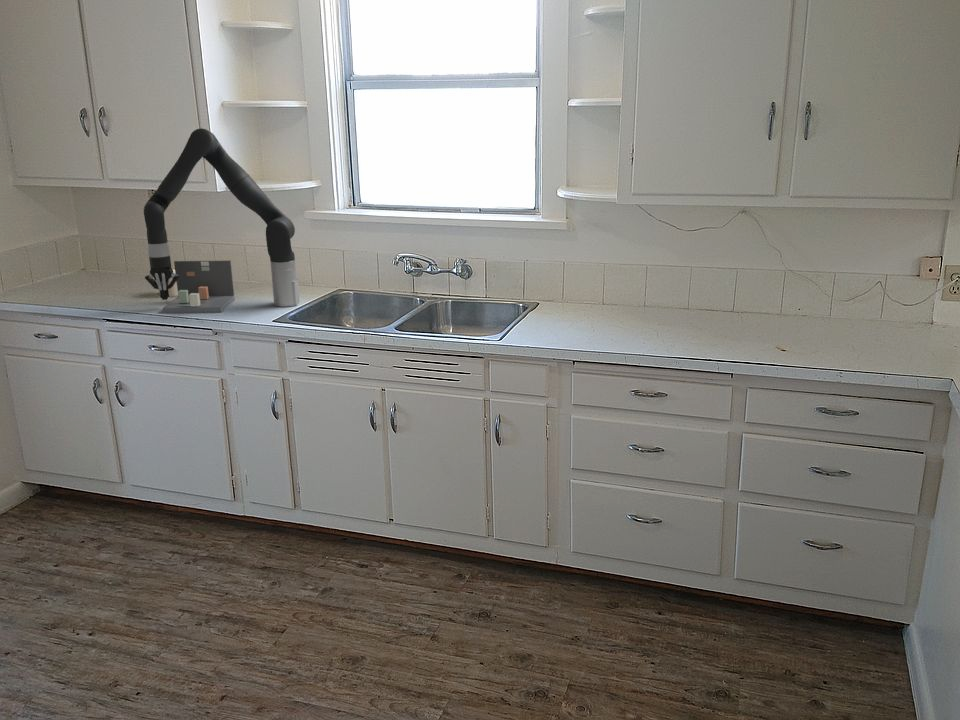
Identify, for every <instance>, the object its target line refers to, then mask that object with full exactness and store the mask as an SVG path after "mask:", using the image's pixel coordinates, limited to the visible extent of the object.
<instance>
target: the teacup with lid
mask: <svg viewBox="0 0 960 720" xmlns="http://www.w3.org/2000/svg"><path fill="white" fill-rule="evenodd" d="M172 270H173V273H175V268H174V269H173V268H172ZM175 274H176V273H175ZM153 279H154V278H153ZM154 280H155V279H154ZM155 281H156V280H155ZM171 281H172V275H171V277H170V279H169V283H168V285H169V284H170V282H171ZM156 283H157V281H156ZM168 292H169V297H168V298H174V297H175V298H177V297H178V290H177V282H175V284H174V285H173V287H172V288H170V289H168Z"/></svg>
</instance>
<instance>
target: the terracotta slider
mask: <svg viewBox="0 0 960 720" xmlns="http://www.w3.org/2000/svg"><path fill="white" fill-rule="evenodd" d="M198 292H199V297H200V299H208V298H209V293H208V286H206V287H199V288H198Z"/></svg>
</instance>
